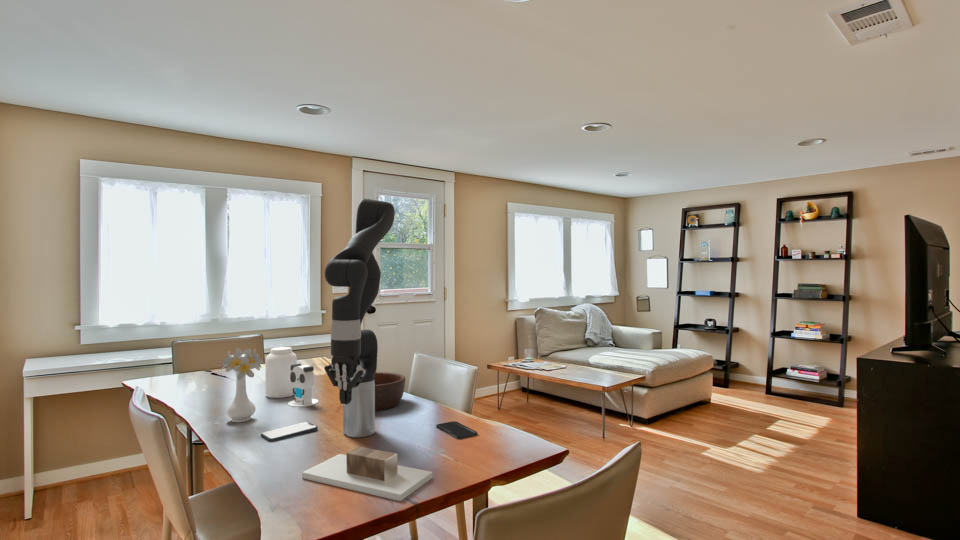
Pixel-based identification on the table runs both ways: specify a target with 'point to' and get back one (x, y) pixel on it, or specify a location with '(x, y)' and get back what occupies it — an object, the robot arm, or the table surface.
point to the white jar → (279, 372)
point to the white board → (368, 479)
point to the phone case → (289, 431)
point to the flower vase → (241, 383)
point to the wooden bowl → (388, 389)
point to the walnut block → (372, 463)
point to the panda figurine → (302, 385)
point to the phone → (456, 430)
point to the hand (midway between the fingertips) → (345, 403)
